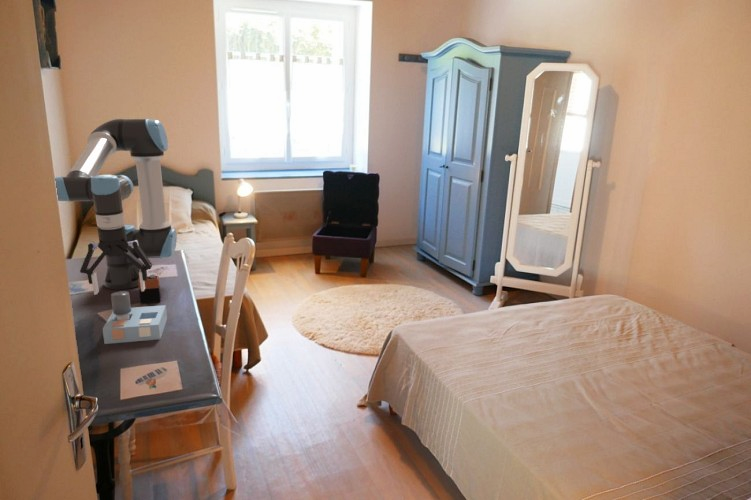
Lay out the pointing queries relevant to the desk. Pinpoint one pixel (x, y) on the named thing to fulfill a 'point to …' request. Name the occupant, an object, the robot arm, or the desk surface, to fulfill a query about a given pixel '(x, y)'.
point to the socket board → (136, 325)
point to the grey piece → (121, 305)
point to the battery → (150, 290)
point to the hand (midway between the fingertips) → (120, 291)
